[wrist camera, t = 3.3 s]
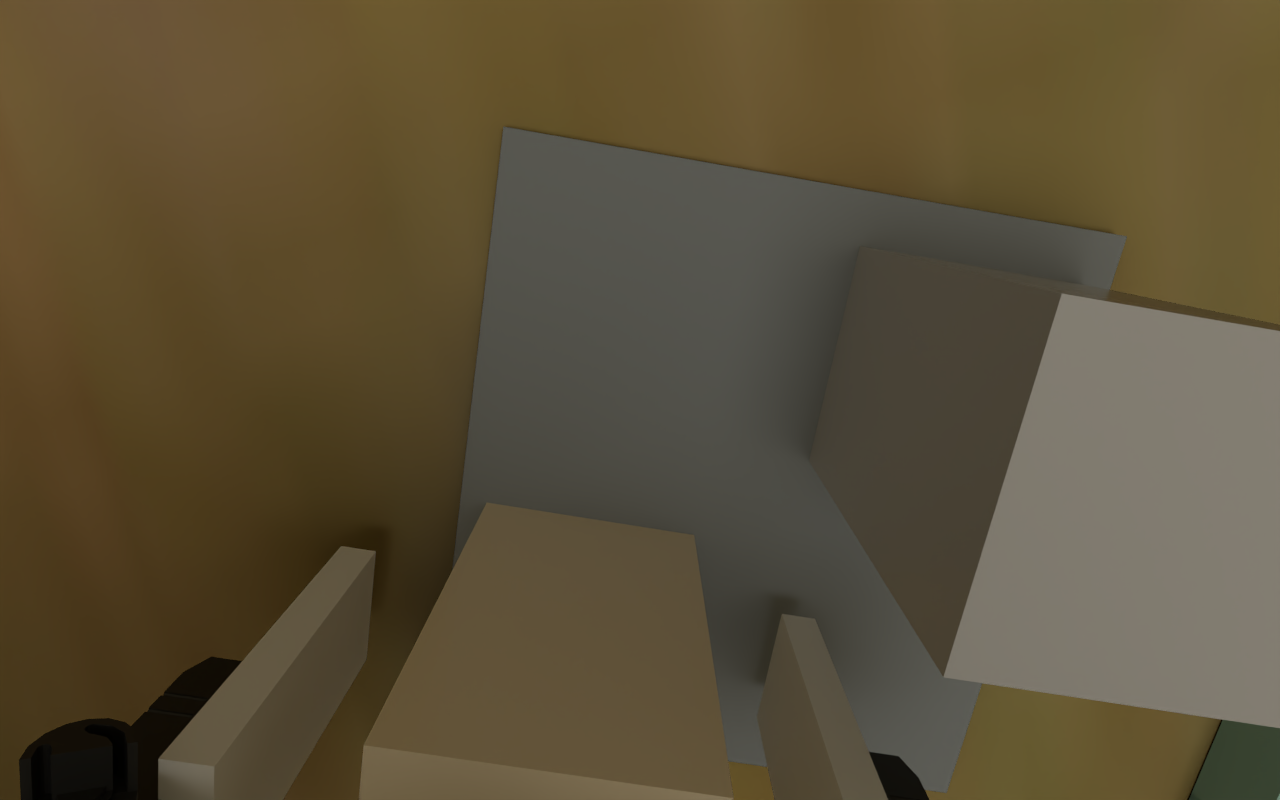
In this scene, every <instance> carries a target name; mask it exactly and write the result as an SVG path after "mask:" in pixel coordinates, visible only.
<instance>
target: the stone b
mask: <svg viewBox="0 0 1280 800" xmlns="http://www.w3.org/2000/svg"><path fill="white" fill-rule="evenodd" d="M809 462H810V464H811V465H812V467H813V468H814V470H815V472H816V473H817V475H818V476H819V478H820V480H821V481H822V483H823V485H824V486H825V488H826V489H827V491H828V493H829V494H830V496H831V497H832V499H833V501H834V502H835V504H836V505H837V507H838V509H839V510H840V512H841V513H842V515H843V517H844V518H845V520H846V521H847V523H848V525H849V526H850V528H851V530H852V531H853V533H854V534H855V536H856V538H857V539H858V541H859V542H860V544H861V546H862V547H863V549H864V550H865V552H866V554H867V555H868V557H869V558H870V560H871V562H872V563H873V565H874V567H875V568H876V570H877V571H878V573H879V575H880V576H881V578H882V579H883V581H884V583H885V584H886V586H887V587H888V589H889V591H890V592H891V594H892V595H893V597H894V599H895V600H896V602H897V604H898V605H899V607H900V608H901V610H902V612H903V613H904V615H905V616H906V618H907V620H908V621H909V623H910V624H911V626H912V628H913V629H914V631H915V632H916V634H917V636H918V637H919V639H920V640H921V642H922V644H923V645H924V647H925V649H926V650H927V652H928V653H929V655H930V657H931V658H932V660H933V661H934V663H935V665H936V666H937V668H938V669H939V671H940V673H941V674H942V676H943V677H945V678H952V679H958V680H965V681H971V682H978V683H985V684H991V685H998V686H1004V687H1011V688H1018V689H1024V690H1031V691H1037V692H1044V693H1051V694H1057V695H1064V696H1070V697H1077V698H1084V699H1090V700H1097V701H1103V702H1110V703H1117V704H1123V705H1130V706H1136V707H1143V708H1150V709H1156V710H1163V711H1169V712H1176V713H1183V714H1189V715H1196V716H1202V717H1209V718H1216V719H1222V720H1229V721H1235V722H1242V723H1249V724H1255V725H1262V726H1268V727H1275V728H1280V325H1279V324H1274V323H1269V322H1264V321H1259V320H1255V319H1250V318H1245V317H1240V316H1235V315H1230V314H1225V313H1220V312H1215V311H1211V310H1206V309H1201V308H1196V307H1191V306H1186V305H1181V304H1176V303H1171V302H1166V301H1162V300H1157V299H1152V298H1147V297H1142V296H1137V295H1132V294H1127V293H1122V292H1118V291H1113V290H1108V289H1103V288H1098V287H1093V286H1088V285H1083V284H1078V283H1072V282H1066V281H1060V280H1055V279H1049V278H1043V277H1037V276H1032V275H1026V274H1020V273H1014V272H1009V271H1003V270H997V269H991V268H985V267H980V266H974V265H968V264H962V263H957V262H951V261H945V260H939V259H933V258H928V257H922V256H916V255H910V254H905V253H899V252H893V251H887V250H882V249H876V248H870V247H864V246H860V248H859V252H858V256H857V261H856V265H855V269H854V273H853V277H852V282H851V286H850V290H849V294H848V298H847V303H846V307H845V311H844V315H843V319H842V324H841V328H840V332H839V336H838V340H837V345H836V349H835V353H834V357H833V362H832V366H831V370H830V374H829V378H828V383H827V387H826V391H825V395H824V399H823V404H822V408H821V412H820V416H819V420H818V425H817V429H816V433H815V437H814V442H813V446H812V450H811V454H810V458H809Z"/></svg>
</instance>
